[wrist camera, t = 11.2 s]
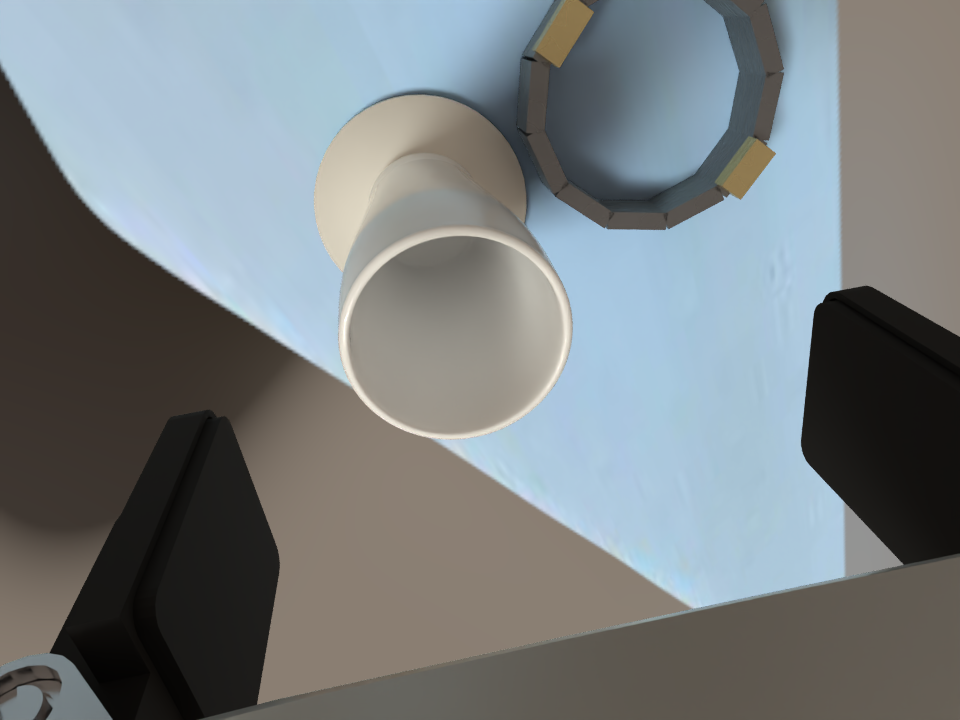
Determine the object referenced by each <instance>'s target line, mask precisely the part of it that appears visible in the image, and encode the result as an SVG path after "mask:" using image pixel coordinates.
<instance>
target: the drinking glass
mask: <svg viewBox="0 0 960 720" xmlns="http://www.w3.org/2000/svg"><path fill="white" fill-rule="evenodd" d="M338 329H339V331H338V341H339V351H340V357H341V361H342V364H343V368H344V370H345V373H346V375H347V378H348V380H349V382H350V383H351V385H352V387H353V389H354V390H355V392H356V393H357V395H358V396H359V397H360V398H361V400H362V401H363V402H364V403H365V404H366V405H367V406H368V407H369V408H370V409H371V410H372V411H373V412H374V413H376V414H377V415H378V416H379V417H381V418H382V419H384V420H385V421H387V422H388V423H390V424H392V425H394V426H396V427H397V428H399V429H402V430H404V431H407V432H409V433H413V434H416V435H419V436H424V437H428V438H435V439H450V440H451V439H466V438H473V437H478V436H482V435H486V434H489V433H492V432H495V431H497V430H500V429H502V428H505V427H507V426H509V425H511V424H513V423H514V422H516V421H518V420H519V419H521V418H522V417H524V416H525V415H526V414H528V413H529V412H530V411H532V410H533V409H534V408H535V407H536V406H537V405H538V404H539V403H540V402H541V401H542V400H543V399H544V398H545V397H546V396H547V395H548V393H549V392H550V391H551V390H552V388H553V387H554V385H555V384H556V382H557V381H558V379H559V377H560V375H561V373H562V371H563V369H564V367H565V364H566V362H567V358H568V355H569V352H570V347H571V342H572V332H573V322H572V312H571V307H570V303H569V299H568V296H567V293H566V290H565V288H564V286H563V284H562V281H561V280H560V278H559V276H558V275H557V273H556V271H555V269H554V267H553V265H552V263H551V261H550V260H549V258H548V256H547V255H546V253H545V251H544V250H543V248H542V246H541V245H540V244H539V242H538V241H537V239H536V238H535V237H534V235H533V234H532V233H531V231H530V230H529V229H528V228H527V226H526V225H525V224H524V223H523V222H522V221H521V220H520V219H519V218H518V217H517V216H516V215H515V214H514V213H513V212H512V211H511V210H510V209H509V208H508V207H506V206H505V205H504V204H503V203H502V202H501V201H499V200H498V199H497V198H496V197H494V196H493V195H492V194H491V193H489V192H488V191H487V190H486V189H484V188H483V187H482V186H481V185H480V184H478V183H477V182H476V181H475V180H474V179H473V177H472V176H471V175H470V173H469V172H468V171H467V170H466V169H465V168H464V167H463V166H461V165H460V164H459V163H457V162H456V161H454V160H452V159H450V158H448V157H446V156H443V155H440V154H435V153H415V154H410V155H407V156H404V157H402V158H400V159H398V160H396V161H394V162H393V163H391V164H390V165H389V166H387V167H386V168H385V169H384V170H383V171H382V172H381V174H380V175H379V176H378V178H377V179H376V181H375V183H374V184H373V186H372V189H371V192H370V195H369V199H368V205H367V209H366V211H365V214H364V216H363V219H362V221H361V223H360V226H359V228H358V230H357V232H356V235H355V237H354V240H353V242H352V245H351V247H350V250H349V253H348V256H347V259H346V263H345V267H344V271H343V275H342V281H341V288H340V296H339V313H338Z"/></svg>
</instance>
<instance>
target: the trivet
mask: <svg viewBox="0 0 960 720" xmlns="http://www.w3.org/2000/svg"><path fill="white" fill-rule="evenodd" d="M415 153H435V154H440V155H443V156H446V157H448V158H450V159H452V160H454V161H456V162H457V163H459V164H460V165H461V166H463V167H464V168H465V169H466V170H467V171H468V172H469V173H470V175H471V176H472V177H473V179H474V180H475V181H476V182H477V183H478V184H480V185H481V186H482V187H483V188H484V189H486V190H487V191H488V192H489V193H491V194H492V195H493V196H494V197H496V198H497V199H498V200H499V201H501V202H502V203H503V204H504V205H505V206H506V207H508V208H509V209H510V210H511V211H512V212H513V213H514V214H515V215H516V216H517V217H518V218H519V219H520V220H521V221H522V222H523V223H525V216H526V188H525V181H524V177H523V174H522V170H521V167H520V165H519V162H518V160H517V157H516V155H515V153H514V151H513V150H512V148H511V146H510V144H509V143H508V142H507V140H506V139H505V138H504V136H503V135H502V134H501V132H500V131H499V130H498V129H497V128H496V127H495V126H494V125H493V124H492V123H491V122H490V121H489V120H487V119H486V118H485V117H483V116H482V115H481V114H480V113H478V112H477V111H475V110H473V109H472V108H470V107H468V106H466V105H464V104H462V103H459V102H457V101H454V100H452V99H448V98H444V97H440V96H435V95H426V94H412V95H403V96H397V97H393V98H390V99H386V100H383V101H380V102H378V103H376V104H374V105H372V106H370V107H368V108H366V109H364V110H363V111H362V112H360V113H359V114H357V115H356V116H354V117H353V118H352V119H351V120H350V121H349V122H348V123H346V124H345V125H344V126H343V127H342V129H341V130H340V131H339V132H338V133H337V135H336V136H335V137H334V139H333V140H332V142H331V144H330V145H329V147H328V148H327V150H326V153H325V155H324V157H323V159H322V162H321V164H320V167H319V171H318V174H317V177H316V184H315V191H314V210H315V217H316V223H317V227H318V230H319V234H320V237H321V239H322V241H323V244H324V246H325V248H326V250H327V252H328V253H329V255H330V257H331V259H332V260H333V261H334V263H335V264H336V265H337V267H338V268H339V269H340V270H341V271H342V272H343V271H344V267H345V263H346V259H347V256H348V253H349V250H350V247H351V245H352V242H353V240H354V237H355V235H356V232H357V230H358V228H359V226H360V223H361V221H362V219H363V216H364V214H365V211H366V209H367V205H368V199H369V195H370V192H371V189H372V186H373V184H374V183H375V181H376V179H377V178H378V176H379V175H380V174H381V172H382V171H383V170H384V169H385V168H386V167H387V166H389V165H390V164H391V163H393V162H394V161H396V160H398V159H400V158H402V157H404V156H407V155H410V154H415Z"/></svg>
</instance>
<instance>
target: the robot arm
mask: <svg viewBox="0 0 960 720" xmlns="http://www.w3.org/2000/svg"><path fill="white" fill-rule="evenodd" d="M801 447H802V452H803V455H804V457H805V459H806V461H807V462H808V464H809V465H810V466H811V467H812V468H813V469H814V470H815V471H816V472H817V473H818V474H819V475H820V477H821V478H822V479H823V480H824V481H825V482H826V483H827V484H828V485H829V486H830V487H831V488H832V489H833V490H834V491H835V492H836V493H837V494H838V496H839V497H840V498H841V499H842V500H843V501H844V502H845V503H846V504H847V505H848V506H849V507H850V508H851V509H852V510H853V511H854V512H855V514H857V516H858V517H859V518H860V519H861V520H862V521H863V522H864V523H865V524H866V525H867V526H868V527H869V528H870V529H871V530H872V531H873V532H874V533H875V535H876V536H877V537H878V538H879V539H880V540H881V541H882V542H883V543H884V544H885V545H886V546H887V547H888V548H889V549H890V550H891V551H892V553H893V554H894V555H895V556H896V557H897V558H898V559H899V560H900V561H901V562H902V563H903V564H904V565H901V566H897V567H892V568H887V569H882V570H878V571H872V572H868V573H863V574H858V575H853V576H849V577H843V578H838V579H834V580H829V581H824V582H819V583H814V584H809V585H805V586H800V587H795V588H790V589H786V590H781V591H776V592H771V593H767V594H762V595H757V596H752V597H748V598H743V599H738V600H734V601H729V602H724V603H719V604H715V605H710V606H705V607H700V608H696V609H691V610H686V611H682V612H677V613H673V614H668V615H663V616H658V617H653V618H649V619H644V620H639V621H635V622H630V623H625V624H621V625H616V626H612V627H607V628H602V629H598V630H593V631H588V632H583V633H579V634H574V635H569V636H565V637H560V638H555V639H552V640H546V641H542V642H537V643H533V644H528V645H524V646H519V647H515V648H510V649H505V650H501V651H496V652H492V653H487V654H482V655H478V656H473V657H469V658H464V659H460V660H455V661H450V662H446V663H441V664H437V665H432V666H427V667H423V668H418V669H414V670H409V671H405V672H400V673H395V674H391V675H387V676H382V677H377V678H373V679H368V680H363V681H359V682H355V683H350V684H345V685H341V686H336V687H332V688H327V689H323V690H318V691H314V692H309V693H305V694H300V695H295V696H291V697H287V698H282V699H278V700H274V701H270V702H266V703H262V704H258V705H257V701H258V695H259V689H260V683H261V677H262V671H263V665H264V659H265V653H266V647H267V641H268V635H269V630H270V624H271V617H272V612H273V606H274V600H275V594H276V588H277V582H278V576H279V568H280V562H279V554H278V549H277V546H276V544H275V541H274V538H273V535H272V533H271V530H270V527H269V525H268V522H267V520H266V517H265V514H264V511H263V508H262V506H261V503H260V500H259V498H258V495H257V492H256V490H255V487H254V484H253V482H252V479H251V477H250V474H249V471H248V468H247V466H246V463H245V461H244V458H243V455H242V452H241V450H240V447H239V444H238V442H237V439H236V437H235V434H234V431H233V428H232V426H231V424H230V421H229V420H228V419H227V417H225V416H223V417H218V418H217V417H216V416H215V414H214V413H213V412H212V411H211V410H204V411H199V412H194V413H189V414H184V415H178V416H173V417H171V418H170V419H169V420H168V421H167V423H166V425H165V428H164V429H163V431H162V433H161V436H160V438H159V439H158V442H157V443H156V446H155V447H154V450H153V452H152V453H151V455H150V457H149V459H148V461H147V463H146V465H145V468H144V469H143V471H142V474H141V475H140V477H139V480H138V481H137V484H136V485H135V488H134V490H133V491H132V493H131V496H130V498H129V500H128V502H127V504H126V506H125V508H124V510H123V512H122V514H121V515H120V516H119V518H118V519H117V521H116V522H115V524H114V526H113V528H112V530H111V532H110V534H109V536H108V538H107V540H106V542H105V544H104V546H103V548H102V550H101V552H100V554H99V556H98V558H97V560H96V562H95V564H94V566H93V568H92V570H91V572H90V574H89V576H88V578H87V580H86V581H85V583H84V585H83V587H82V589H81V591H80V594H79V595H78V598H77V600H76V601H75V603H74V605H73V607H72V610H71V612H70V614H69V615H68V617H67V619H66V621H65V623H64V625H63V627H62V630H61V631H60V633H59V635H58V638H57V639H56V641H55V643H54V645H53V647H52V649H51V651H50V653H44V654H37V655H30V656H26V657H23V658H20V659H18V660H15V661H12V662H9V663H7V664H5V665H3V666H1V667H0V720H960V337H959V336H957V335H955V334H953V333H952V332H950V331H948V330H947V329H945V328H943V327H941V326H940V325H938V324H936V323H934V322H933V321H931V320H929V319H927V318H925V317H924V316H922V315H920V314H918V313H917V312H915V311H913V310H911V309H910V308H908V307H906V306H904V305H903V304H901V303H899V302H897V301H895V300H894V299H892V298H890V297H888V296H887V295H885V294H883V293H881V292H880V291H878V290H876V289H874V288H873V287H869V286H862V287H857V288H851V289H846V290H840V291H835V292H830V293H829V294H828V295H826V297H825V299H824V300H823V303H820V304H819V305H817V307H816V309H815V311H814V318H813V328H812V338H811V347H810V357H809V367H808V377H807V387H806V397H805V407H804V417H803V427H802V437H801Z"/></svg>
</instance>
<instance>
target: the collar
mask: <svg viewBox="0 0 960 720" xmlns="http://www.w3.org/2000/svg"><path fill="white" fill-rule="evenodd" d="M596 1H598V0H554V2H553V4H552V5H551V7H550V9H549V10H548V12H547V14H546V15H545V17H544V19H543V20H542V22H541V24H540V25H539V27H538V29H537V30H536V32H535V34H534V35H533V37H532V39H531V40H530V42H529V44H528V45H527V47H526V49H525V50H524V52H523V54H522V55H523V56H524V57H526V58H527V59H523V58H521V62H520V77H519V92H518V107H517V122H516V125H517V126H518V127H519V128H517V130H518V132H519V134H520V136H521V138H522V140H523V142H524V145H525V147H526V149H527V151H528V153H529V155H530V157H531V160H532V162H533V164H534V166H535V168H536V170H537V172H538V174H539V177H540V179H541V181H542V183H543V184H544V185H545V186H546V187H547V188H548V189H549V190H550V191H551V192H552V193H553V194H554V195H555V197H557V198H558V199H560V200H562V201H563V202H565V203H566V204H568V205H569V206H571V207H572V208H574V209H575V210H577V211H579V212H580V213H582V214H583V215H585V216H586V217H588V218H589V219H591V220H592V221H594V222H596V223H597V224H599V225H600V226H602V227H603V228H605V227H606V228H607V229H641V230H666V227H667V228H668V229H670V228H672V227H673V226H675V225H677V224H679V223H681V222H683V221H685V220H687V219H689V218H691V217H692V216H694V215H696V214H698V213H700V212H702V211H704V210H706V209H708V208H709V207H711V206H713V205H715V204H717V203H719V202H721V201H723V200H724V198H723V196H725V197H727V196H728V195H729V194H731V195H733V196H734V197H736V198H738V199H740V200H741V199H742V197H743V196H744V195H745V193H746V192H747V191H748V190H749V188H750V187H751V186H752V184H753V183H754V182H755V180H756V179H757V178H758V176H759V175H760V174H761V173H762V171H763V170H764V169H765V167H766V166H767V165H768V163H769V162H770V161H771V159H772V158H773V157H774V156H775V154H776V153H775V152H773V151H772V150H771V149H770V148H768V147H767V146H766V145H767V143H766V142H764V141H763V140H769V138H770V133H771V129H772V124H773V120H774V115H775V111H776V106H777V102H778V97H779V93H780V88H781V84H782V79H783V75H784V73H782V72H779V71H781V70H783V69H784V67H783V64H782V60H781V56H780V52H779V49H778V45H777V41H776V38H775V34H774V30H773V26H772V23H771V19H770V15H769V11H768V8H767V4H766V3H764V4H762V3H763V2H764V0H704V1H705V2H706V3H708V4H709V5H710V6H711V7H712V8H714V9H715V10H716V11H717V12H718V13H719V14H721V15H722V16H723V18H724V21H725V24H726V28H727V31H728V34H729V38H730V41H731V44H732V48H733V51H734V54H735V58H736V61H737V64H738V68H739V71H740V72H739V77H738V82H737V87H736V92H735V97H734V102H733V107H732V112H731V118H730V123H729V128H728V130H727V131H726V133H725V134H724V135H723V137H722V138H721V140H720V141H719V142H718V144H717V145H716V146H715V148H714V149H713V151H712V152H711V153H710V155H709V156H708V157H707V159H706V160H705V162H704V163H703V164H702V166H701V167H700V168H699V170H698V171H697V172H696V174H695V175H694V176H692V177H690V178H688V179H686V180H685V181H683V182H681V183H679V184H677V185H675V186H673V187H671V188H670V189H668V190H666V191H664V192H662V193H660V194H658V195H656V196H655V197H653V198H651V199H649V200H599V199H596V198H594V197H593V196H591V195H590V194H588V193H587V192H585V191H584V190H582V189H581V188H579V187H578V186H576V185H575V184H573V183H572V182H570V181H569V180H567V179H566V177H565V175H564V172H563V170H562V168H561V166H560V163H559V161H558V159H557V157H556V155H555V152H554V150H553V148H552V146H551V143H550V141H549V139H548V137H547V135H546V132H545V120H546V108H547V96H548V84H549V72H550V65H551V64H552V65H553V66H555V67H558V68H560V66H561V65H562V63H563V61H564V60H565V58H566V57H567V55H568V53H569V52H570V50H571V49H572V47H573V45H574V44H575V42H576V41H577V39H578V37H579V36H580V34H581V32H582V31H583V29H584V28H585V26H586V24H587V23H588V21H589V20H590V18H591V16H592V15H593V13H594V12H593V11H592V10H591V9H589V8H588V6H589V5H591V4H593V3H595V2H596Z"/></svg>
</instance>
